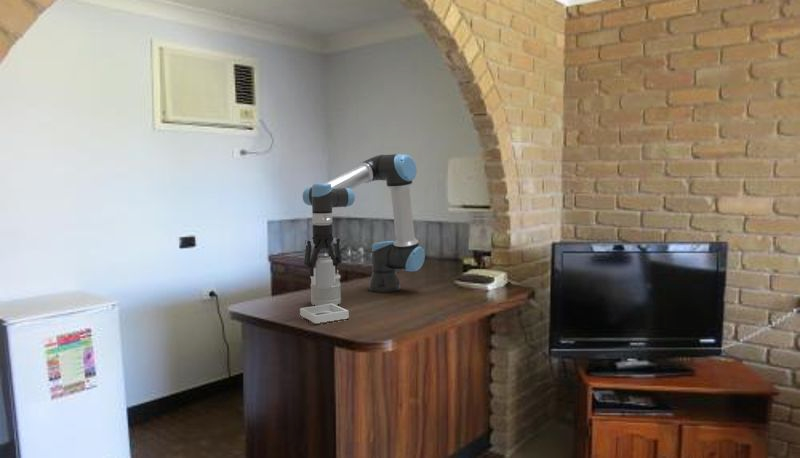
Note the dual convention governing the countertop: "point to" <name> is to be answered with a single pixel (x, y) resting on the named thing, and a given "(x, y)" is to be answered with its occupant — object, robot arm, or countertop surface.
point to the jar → (327, 293)
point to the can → (324, 272)
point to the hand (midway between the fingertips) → (323, 283)
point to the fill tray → (324, 313)
